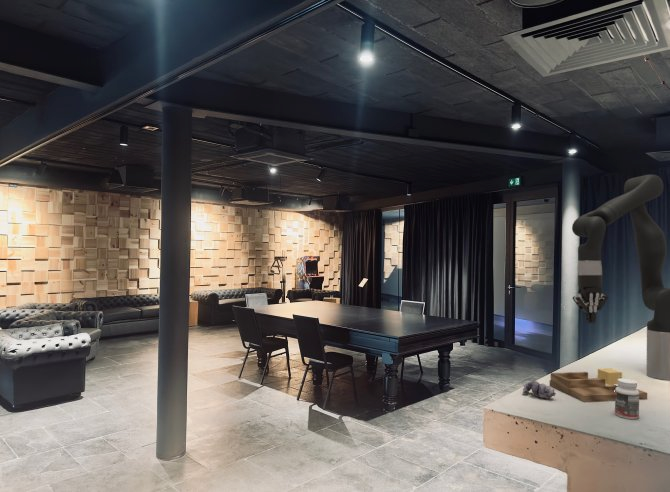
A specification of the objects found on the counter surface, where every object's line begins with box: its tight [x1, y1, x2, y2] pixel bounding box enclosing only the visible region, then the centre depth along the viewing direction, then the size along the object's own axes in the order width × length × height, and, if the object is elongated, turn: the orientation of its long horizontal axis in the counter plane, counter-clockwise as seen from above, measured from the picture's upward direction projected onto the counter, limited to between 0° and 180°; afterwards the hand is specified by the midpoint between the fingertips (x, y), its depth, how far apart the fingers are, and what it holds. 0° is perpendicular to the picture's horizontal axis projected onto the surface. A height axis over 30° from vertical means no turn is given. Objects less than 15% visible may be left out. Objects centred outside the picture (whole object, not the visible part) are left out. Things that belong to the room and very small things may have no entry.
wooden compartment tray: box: [549, 377, 648, 403], centre depth 150 cm, size 22×17×2 cm
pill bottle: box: [614, 377, 640, 420], centre depth 128 cm, size 6×6×10 cm
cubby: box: [550, 371, 605, 388], centre depth 152 cm, size 14×9×2 cm, turn 99°
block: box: [597, 368, 623, 385], centre depth 154 cm, size 5×5×4 cm
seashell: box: [522, 380, 557, 400], centre depth 144 cm, size 5×5×10 cm
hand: (590, 322), depth 160 cm, fingers closed
